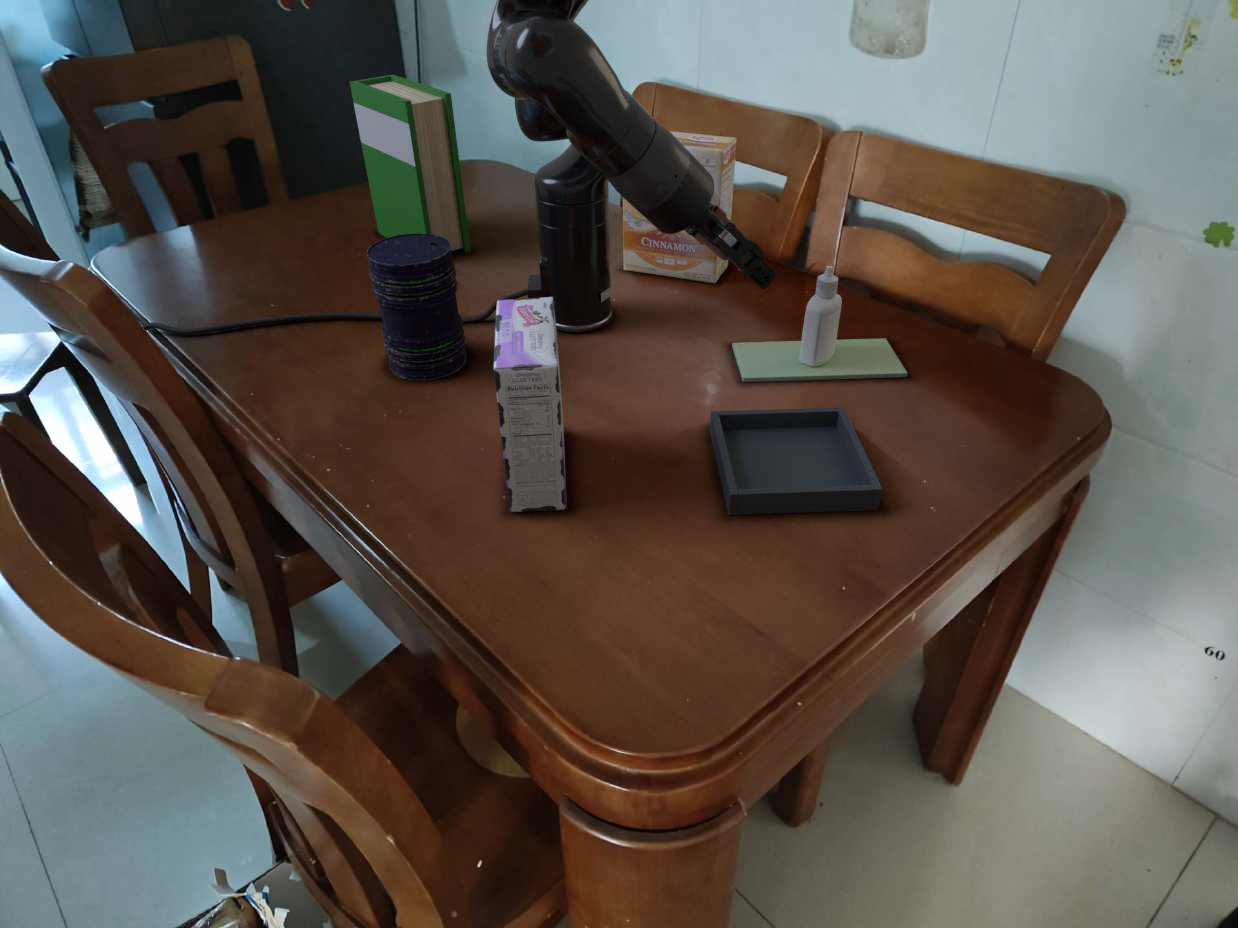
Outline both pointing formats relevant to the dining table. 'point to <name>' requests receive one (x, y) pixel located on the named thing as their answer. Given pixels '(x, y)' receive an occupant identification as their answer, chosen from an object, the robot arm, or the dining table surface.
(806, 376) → the mat
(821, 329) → the eye dropper bottle
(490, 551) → the dining table surface
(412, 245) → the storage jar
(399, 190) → the hardback book
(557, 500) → the candy box
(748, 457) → the tray
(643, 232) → the coffeecake box
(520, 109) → the robot arm
